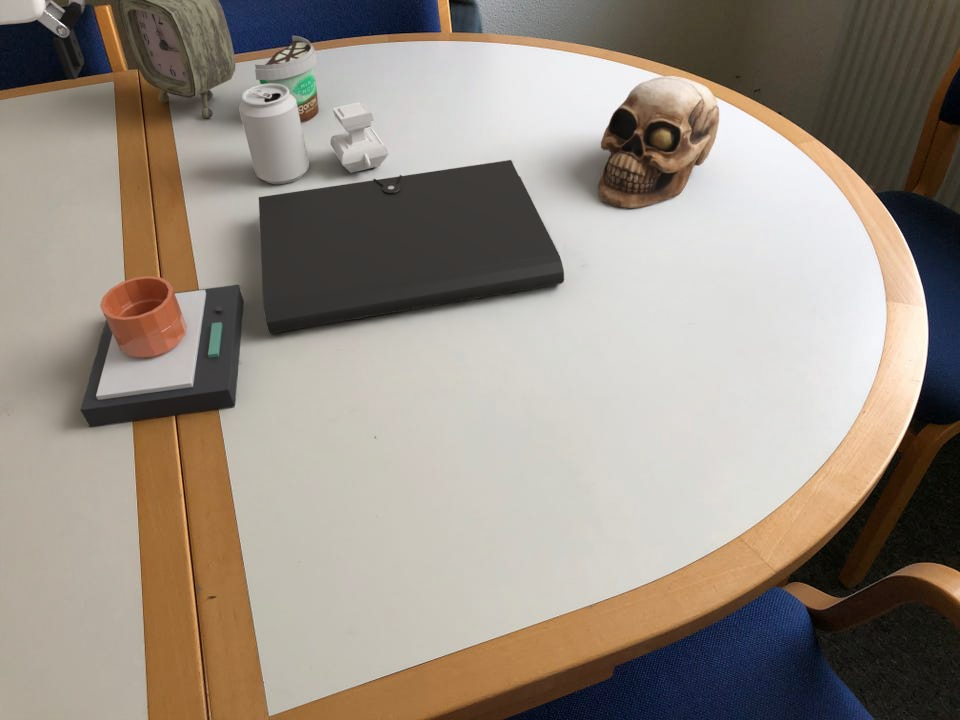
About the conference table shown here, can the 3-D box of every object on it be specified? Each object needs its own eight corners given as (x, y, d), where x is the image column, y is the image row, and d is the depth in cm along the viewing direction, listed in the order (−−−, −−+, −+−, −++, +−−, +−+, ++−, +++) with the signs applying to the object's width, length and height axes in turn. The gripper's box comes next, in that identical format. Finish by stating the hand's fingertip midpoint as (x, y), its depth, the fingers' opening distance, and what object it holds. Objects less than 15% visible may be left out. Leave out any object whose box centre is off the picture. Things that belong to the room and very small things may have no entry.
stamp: (393, 173, 111) (386, 117, 105) (347, 184, 109) (338, 128, 103) (374, 145, 117) (366, 90, 111) (330, 155, 115) (320, 100, 109)
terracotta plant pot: (114, 365, 79) (94, 323, 75) (125, 322, 84) (107, 280, 80) (184, 356, 80) (167, 314, 76) (191, 313, 85) (175, 272, 81)
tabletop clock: (149, 104, 130) (93, -63, 113) (192, 84, 135) (145, -79, 118) (208, 125, 124) (158, -48, 107) (251, 103, 129) (210, -66, 112)
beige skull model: (599, 207, 102) (610, 104, 94) (593, 154, 116) (602, 61, 108) (722, 212, 101) (744, 109, 93) (701, 158, 115) (719, 64, 107)
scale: (89, 427, 77) (77, 405, 75) (118, 317, 90) (108, 296, 88) (235, 407, 79) (227, 385, 77) (244, 301, 91) (237, 280, 89)
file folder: (510, 156, 105) (564, 263, 88) (510, 183, 108) (563, 292, 91) (257, 193, 100) (263, 314, 83) (264, 221, 103) (271, 342, 86)
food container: (303, 134, 120) (290, 70, 113) (268, 129, 122) (253, 65, 115) (339, 99, 129) (329, 37, 122) (305, 95, 130) (293, 34, 123)
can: (293, 190, 108) (274, 107, 100) (246, 182, 110) (224, 100, 102) (319, 164, 113) (304, 83, 105) (274, 157, 116) (255, 76, 107)
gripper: (-195, -107, 62) (-85, 101, 74) (35, -119, 64) (108, 87, 75) (-153, -129, 67) (-57, 68, 79) (58, -139, 69) (122, 55, 81)
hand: (23, 77), depth 77 cm, fingers open, 9 cm apart
